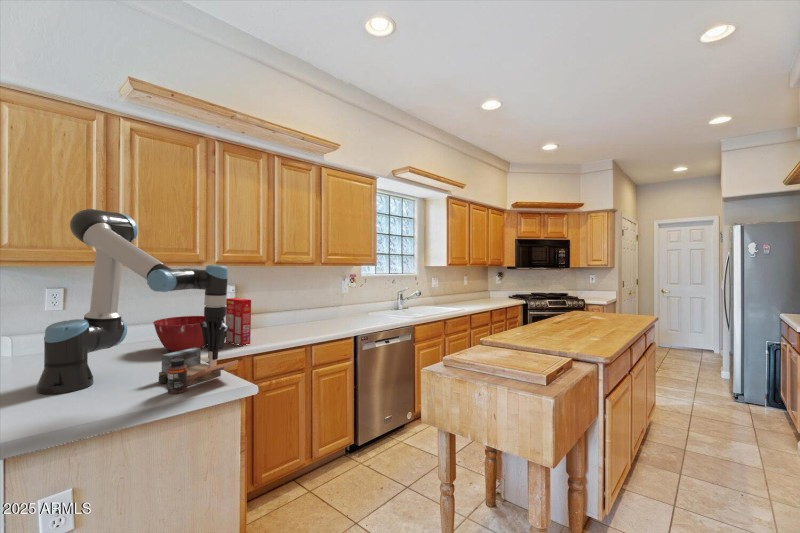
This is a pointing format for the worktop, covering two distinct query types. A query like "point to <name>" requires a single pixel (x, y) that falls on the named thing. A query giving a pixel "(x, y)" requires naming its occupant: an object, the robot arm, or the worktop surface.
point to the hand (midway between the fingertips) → (212, 367)
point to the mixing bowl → (180, 332)
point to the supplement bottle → (177, 376)
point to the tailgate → (212, 369)
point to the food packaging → (238, 320)
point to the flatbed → (192, 363)
